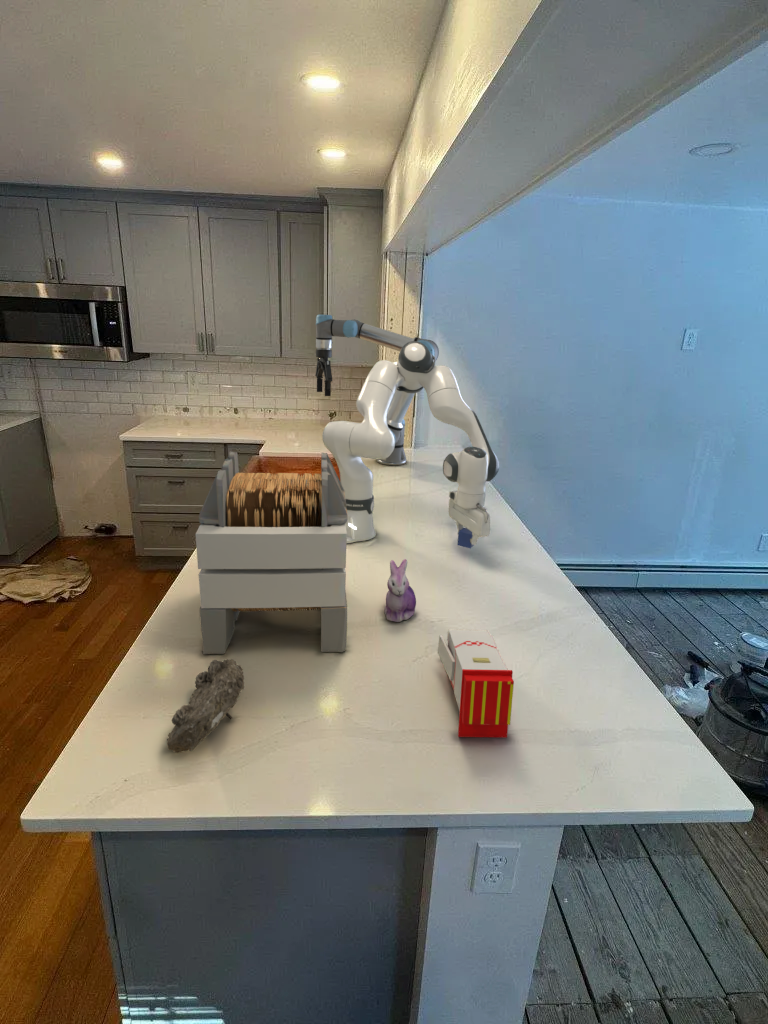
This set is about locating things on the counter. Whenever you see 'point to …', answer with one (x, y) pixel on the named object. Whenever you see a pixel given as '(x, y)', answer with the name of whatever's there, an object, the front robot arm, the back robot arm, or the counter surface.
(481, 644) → the toy
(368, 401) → the front robot arm
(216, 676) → the fossil
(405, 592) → the figurine
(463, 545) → the brick
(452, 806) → the counter surface
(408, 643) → the counter surface
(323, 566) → the transformer
